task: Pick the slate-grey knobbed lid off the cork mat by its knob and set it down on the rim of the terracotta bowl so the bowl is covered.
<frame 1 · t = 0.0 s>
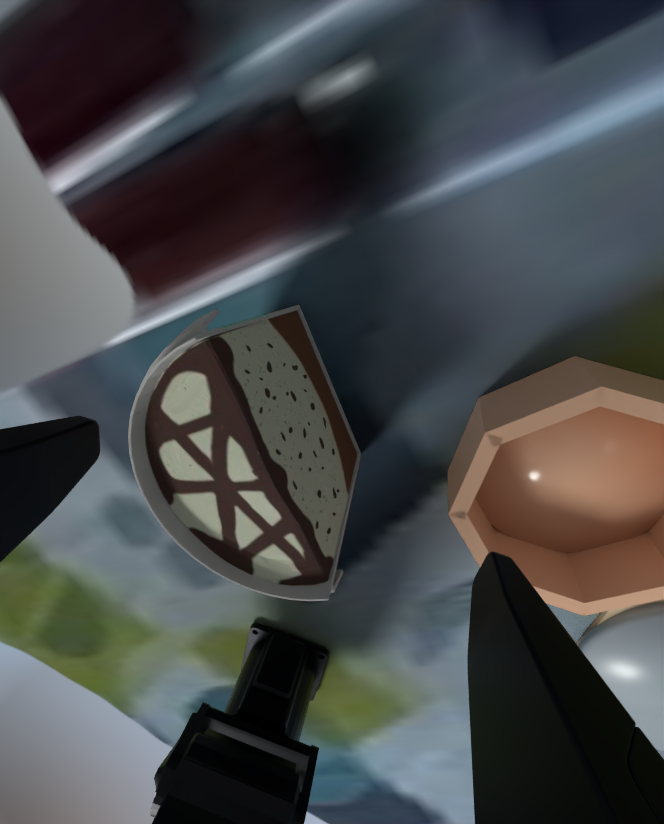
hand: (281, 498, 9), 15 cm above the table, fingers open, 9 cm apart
bowl: (568, 468, 23), on the table
food container: (285, 397, 25), on the table
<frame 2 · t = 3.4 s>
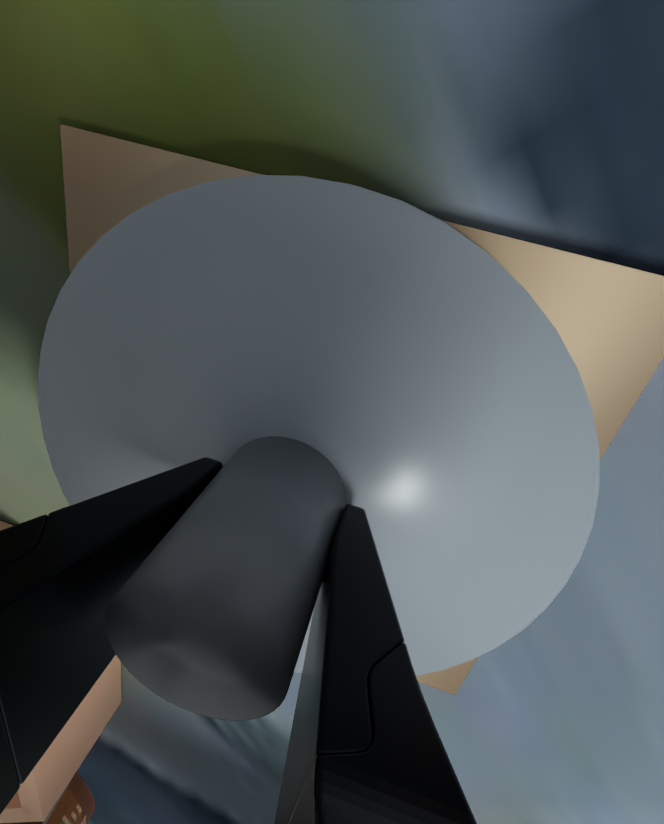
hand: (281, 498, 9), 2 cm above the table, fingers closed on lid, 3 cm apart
food container: (52, 796, 25), on the table
mat: (302, 459, 11), on the table
lid: (297, 468, 10), resting on mat, touching gripper
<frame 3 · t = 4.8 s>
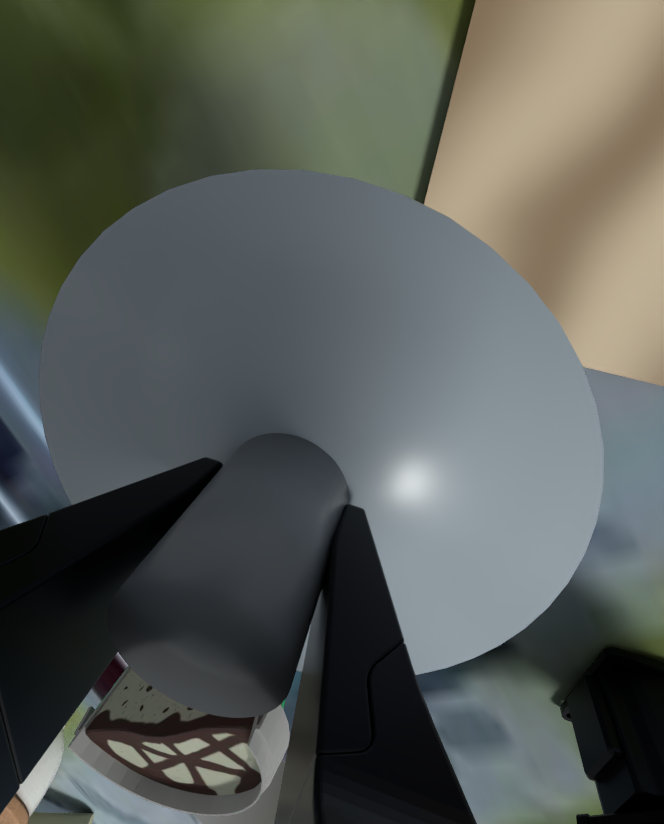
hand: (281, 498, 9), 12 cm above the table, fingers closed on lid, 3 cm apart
lidded jar: (40, 709, 44), on the table
food container: (260, 612, 30), on the table
mat: (596, 197, 16), on the table
lid: (299, 465, 10), point 11 cm above the table, touching gripper
when the fingers open (6 cm above the table, at t = 6.4 s): lid drops 1 cm, resting on bowl.
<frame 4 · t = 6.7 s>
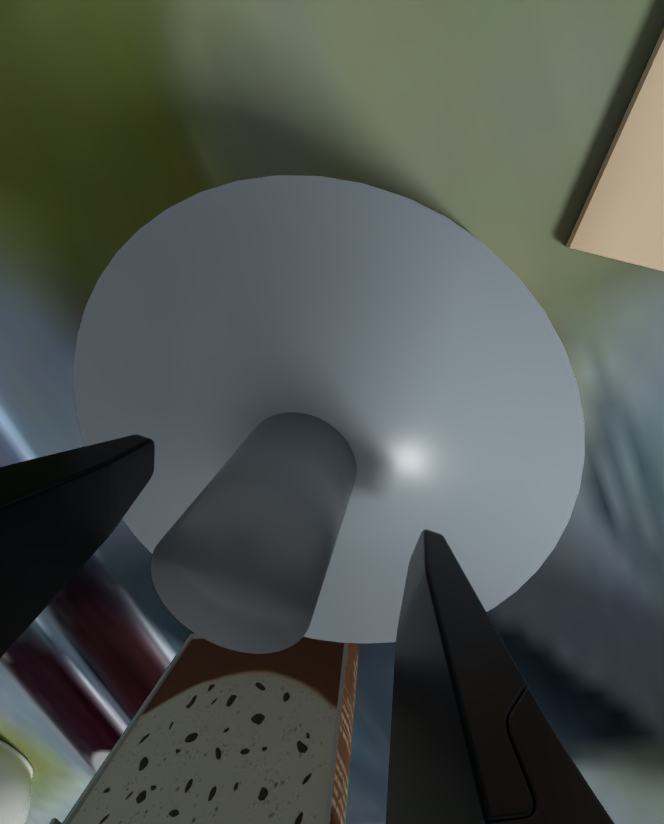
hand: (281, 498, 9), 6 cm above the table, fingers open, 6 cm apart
lidded jar: (3, 753, 36), on the table
food container: (290, 665, 22), on the table
lid: (310, 444, 11), point 4 cm above the table, touching bowl
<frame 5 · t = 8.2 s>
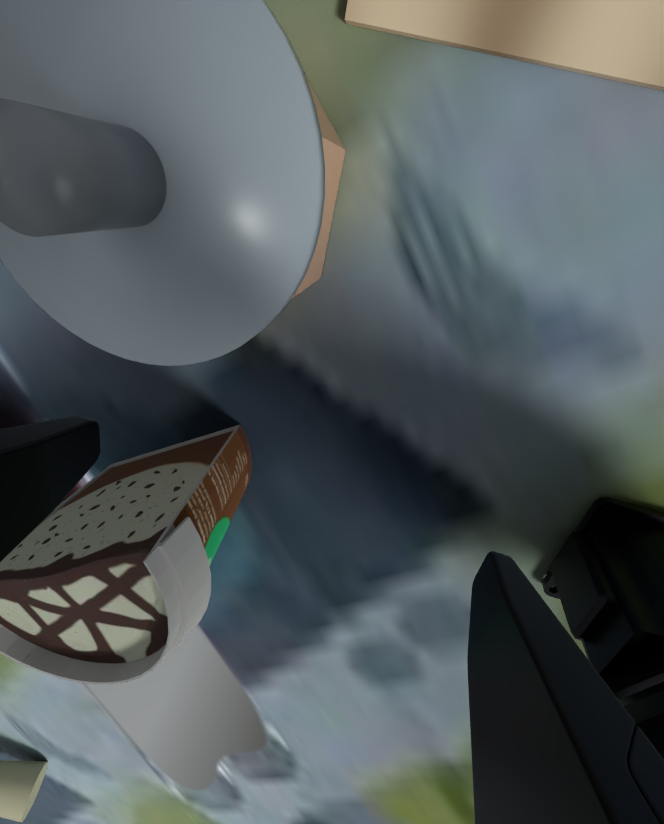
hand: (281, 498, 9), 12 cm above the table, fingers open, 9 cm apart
bowl: (198, 184, 18), on the table
food container: (199, 486, 26), on the table
lid: (143, 179, 14), point 4 cm above the table, touching bowl
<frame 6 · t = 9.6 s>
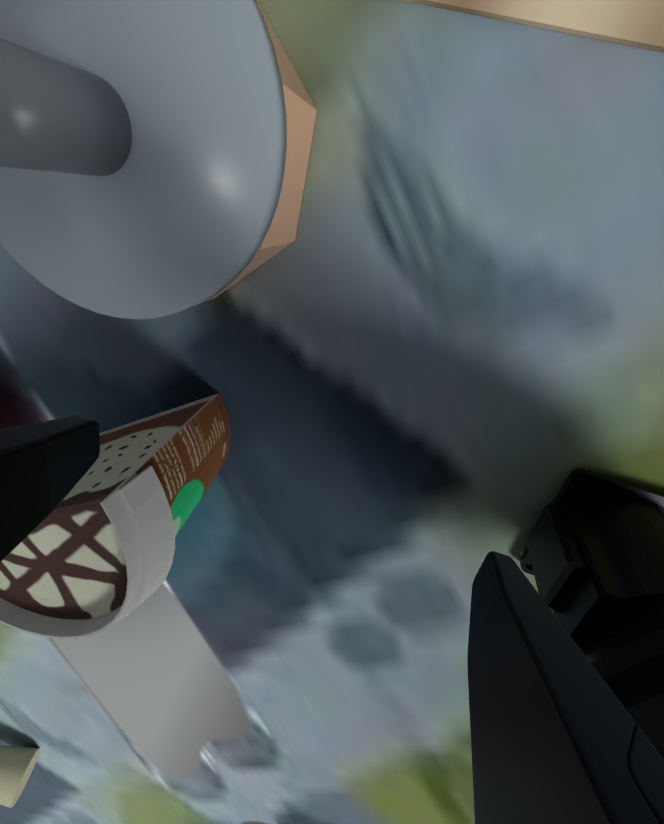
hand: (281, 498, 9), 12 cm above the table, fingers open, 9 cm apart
bowl: (175, 147, 18), on the table
food container: (180, 458, 26), on the table
lid: (113, 131, 15), point 4 cm above the table, touching bowl
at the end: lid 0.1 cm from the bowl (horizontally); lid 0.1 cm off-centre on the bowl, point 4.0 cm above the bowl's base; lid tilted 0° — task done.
